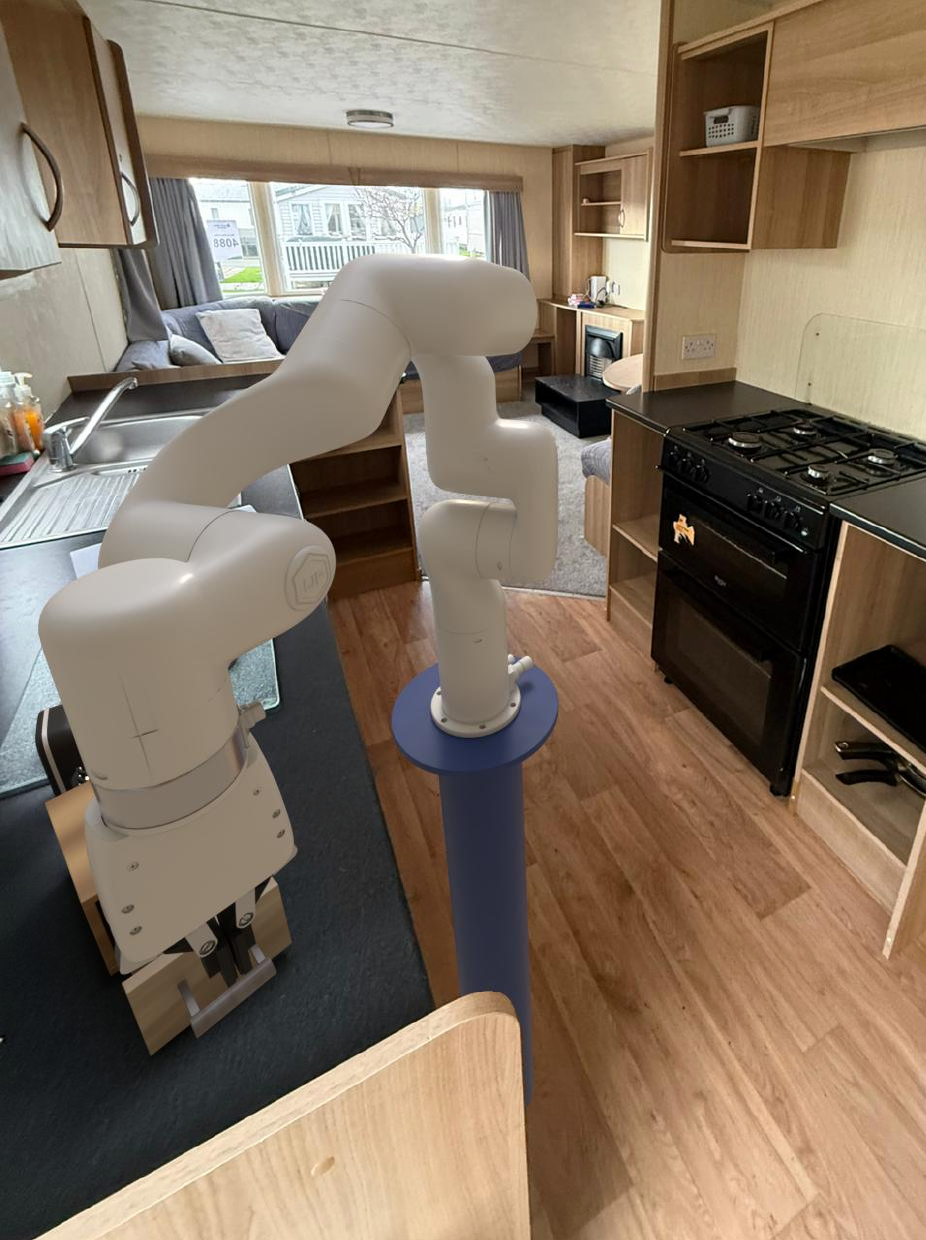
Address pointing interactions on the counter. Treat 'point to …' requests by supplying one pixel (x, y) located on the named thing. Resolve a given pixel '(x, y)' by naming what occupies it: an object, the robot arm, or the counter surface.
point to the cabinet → (81, 862)
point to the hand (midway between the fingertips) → (232, 963)
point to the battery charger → (59, 751)
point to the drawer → (203, 980)
